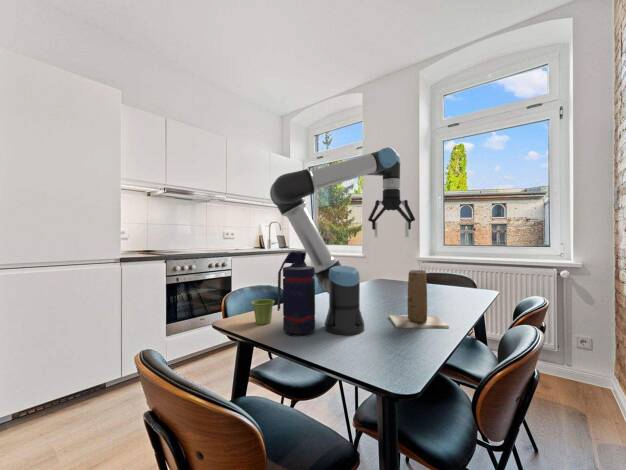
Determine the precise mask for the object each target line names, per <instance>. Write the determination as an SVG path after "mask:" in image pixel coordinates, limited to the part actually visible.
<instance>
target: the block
mask: <svg viewBox="0 0 626 470" xmlns="http://www.w3.org/2000/svg"><path fill="white" fill-rule="evenodd" d="M427 281H428V280H427V271H425V270H422V269H418V270H417V269H416V270H415V269H414V270H413V269H411V270H409V272H408V279H407V315H408V319H409V320H410V321H412V322H420V323H422V322H426V321H427V315H428V285H427V283H428V282H427Z"/></svg>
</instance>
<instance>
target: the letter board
mask: <svg viewBox="0 0 626 470" xmlns="http://www.w3.org/2000/svg"><path fill="white" fill-rule="evenodd" d="M388 318H389V319H390V321H391V323H392V324H393V325H394V327H395V328H404V329H405V328H406V329H410V328H411V329H414V328H415V329H449V328H450V325H449V324H448V323H446V321H444V320H442V319H441V318H440V317H439V316H437V315H432V314H431V315H430V314H429V315H428V314H427V321H426V322H422V323H420V322H412V321H410V320H409V319H408V314H407V315H406V314H405V315H404V314H401V315H399V314H389V315H388Z"/></svg>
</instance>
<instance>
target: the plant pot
mask: <svg viewBox="0 0 626 470" xmlns="http://www.w3.org/2000/svg"><path fill="white" fill-rule="evenodd" d="M274 303H275V300H274V299H269V298H267V299H266V298H264V299H262V298H261V299H256V300H252V301H251V304H252V307H253V312H254V319H255V324H257V325H260V326H261V325H264V324H265V325H268V324H270V323H271V322H272V316H273V314H272V313H273V306H274Z"/></svg>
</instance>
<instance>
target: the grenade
mask: <svg viewBox="0 0 626 470" xmlns="http://www.w3.org/2000/svg"><path fill="white" fill-rule="evenodd" d="M306 257H307V252H306V251H299V250H298V251H295V250H291V251H289V252H288V253H287V256H286V257H285V258H284V260H283V262H282V264H281V266H280V268H279V270H278V272H277V308H276V309H277V311H278V312H279V311H280V310H281V296H282V316H283V319H282V321H283V323H282V324H283V325H282V327H283V328H282V329H283V331H285V334H286V335H287V336H289V337H290V336H292V335H305V336H310V335H312V332H313V331H315V329H316V317H315V316H316V278H315V277H316V275H315V266H310V265H307V263H306V261H305V260H306ZM285 264H291V265H289V266H285ZM281 277H282V278H281ZM281 280H282V281H281ZM281 286H282V287H281ZM281 288H282V291H281ZM281 293H282V295H281Z"/></svg>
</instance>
